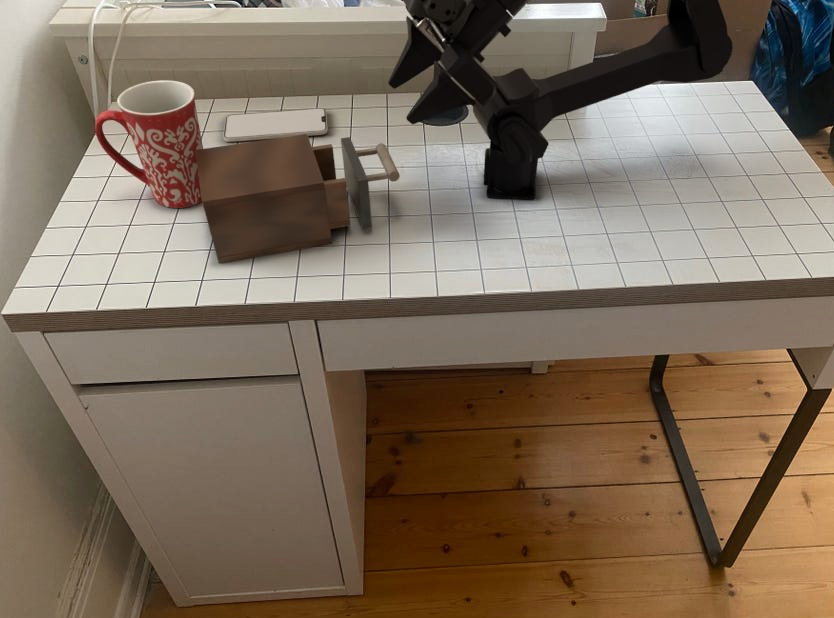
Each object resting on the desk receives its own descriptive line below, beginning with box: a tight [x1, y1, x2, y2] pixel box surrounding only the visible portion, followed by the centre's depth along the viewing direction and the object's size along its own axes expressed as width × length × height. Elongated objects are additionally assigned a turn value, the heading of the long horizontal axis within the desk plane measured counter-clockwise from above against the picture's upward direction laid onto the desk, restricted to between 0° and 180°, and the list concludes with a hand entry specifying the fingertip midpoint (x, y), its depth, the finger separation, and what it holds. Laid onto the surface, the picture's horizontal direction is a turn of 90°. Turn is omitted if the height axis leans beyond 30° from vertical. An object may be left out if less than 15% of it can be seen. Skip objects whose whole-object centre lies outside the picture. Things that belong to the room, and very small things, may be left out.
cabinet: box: [195, 134, 333, 264], centre depth 91 cm, size 14×12×9 cm
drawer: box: [312, 136, 401, 230], centre depth 93 cm, size 17×10×7 cm, turn 107°
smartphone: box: [222, 107, 329, 143], centre depth 112 cm, size 7×1×15 cm
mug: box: [94, 79, 204, 209], centre depth 94 cm, size 13×9×14 cm
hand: (399, 103), depth 88 cm, fingers open, 9 cm apart
